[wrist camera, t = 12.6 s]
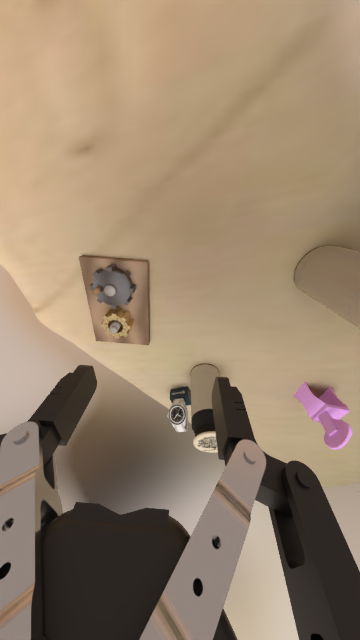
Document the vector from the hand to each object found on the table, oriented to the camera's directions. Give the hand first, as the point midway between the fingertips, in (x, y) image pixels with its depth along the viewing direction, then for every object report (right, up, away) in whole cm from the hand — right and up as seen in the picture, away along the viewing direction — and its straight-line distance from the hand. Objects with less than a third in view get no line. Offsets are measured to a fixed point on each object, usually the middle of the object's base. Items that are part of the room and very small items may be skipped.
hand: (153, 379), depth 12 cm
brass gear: (-12, +4, +29) cm, 31 cm away
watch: (+2, -18, +43) cm, 47 cm away
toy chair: (+41, -17, +41) cm, 61 cm away
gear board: (-12, +8, +28) cm, 32 cm away
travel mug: (+9, -11, +39) cm, 41 cm away
